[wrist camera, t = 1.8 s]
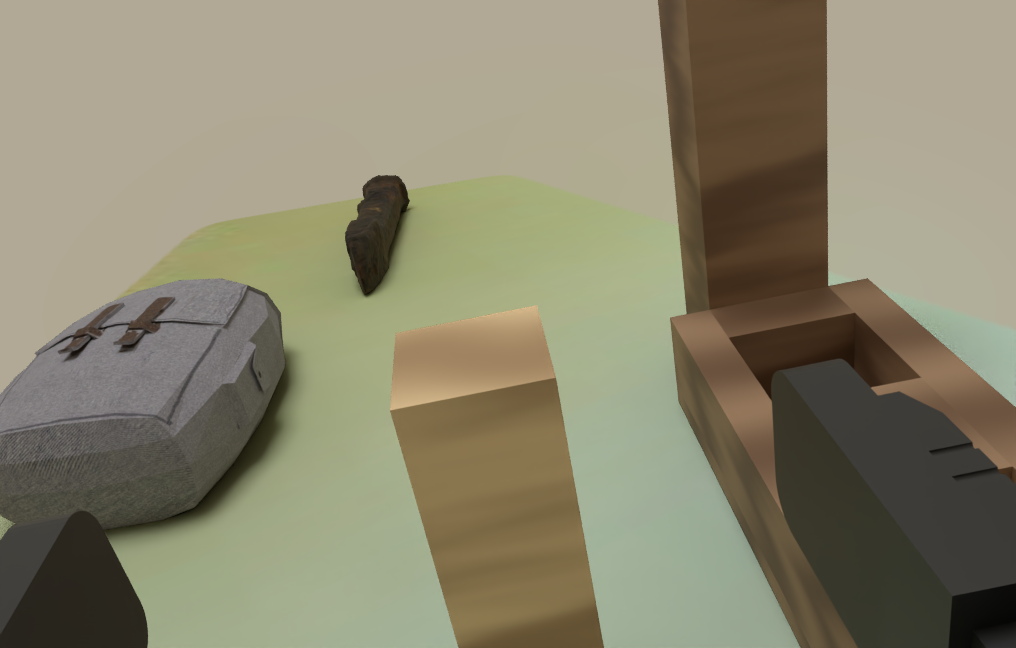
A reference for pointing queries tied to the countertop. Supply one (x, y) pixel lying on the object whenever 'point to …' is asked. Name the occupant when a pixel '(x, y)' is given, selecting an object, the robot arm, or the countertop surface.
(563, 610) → the rail bar
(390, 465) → the countertop surface
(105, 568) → the robot arm
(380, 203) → the hand tool
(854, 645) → the wooden peg socket stand
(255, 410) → the small grey backpack
